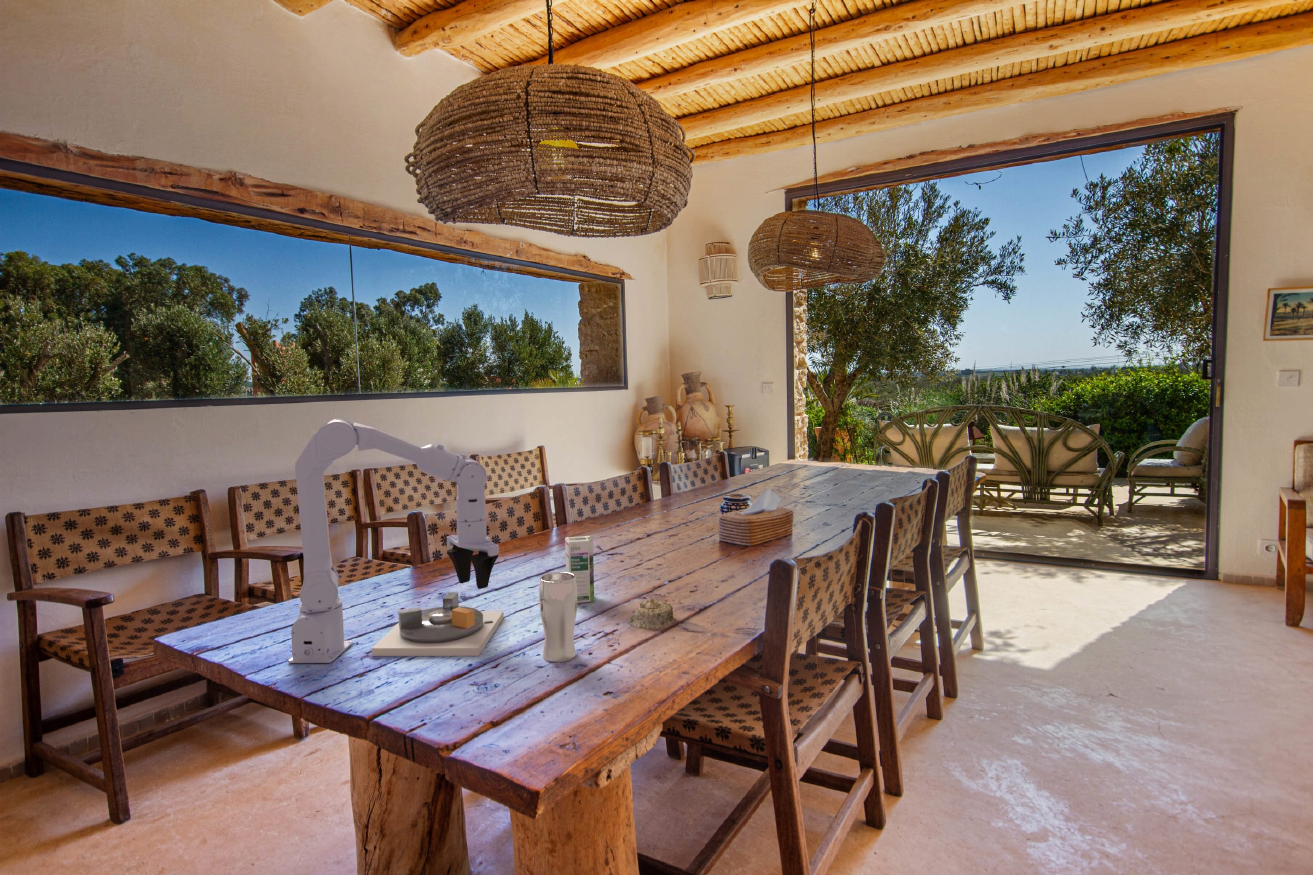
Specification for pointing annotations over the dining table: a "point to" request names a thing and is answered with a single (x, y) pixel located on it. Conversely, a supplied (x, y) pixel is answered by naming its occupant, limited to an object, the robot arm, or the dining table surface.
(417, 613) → the rotary indexing table
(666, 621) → the cake
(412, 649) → the plate
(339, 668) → the dining table surface
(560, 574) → the beer glass
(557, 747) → the dining table surface
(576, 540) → the syrup box
